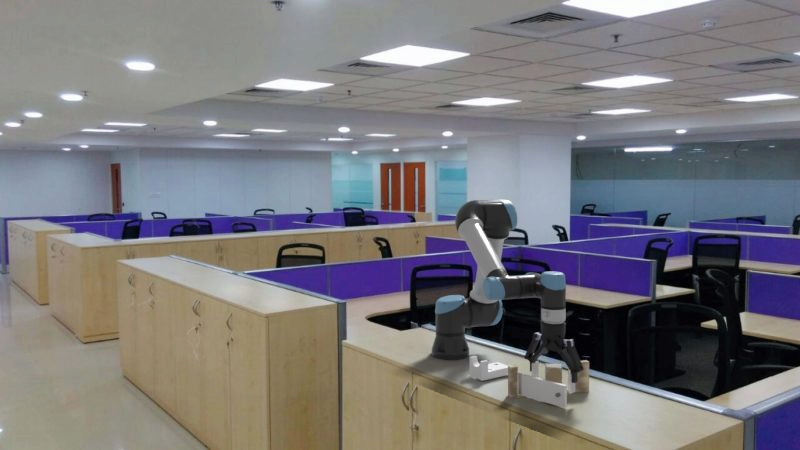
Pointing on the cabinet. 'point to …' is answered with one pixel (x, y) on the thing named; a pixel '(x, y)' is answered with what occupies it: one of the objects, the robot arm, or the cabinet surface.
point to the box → (553, 372)
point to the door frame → (580, 386)
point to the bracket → (486, 369)
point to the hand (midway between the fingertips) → (553, 387)
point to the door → (542, 390)
